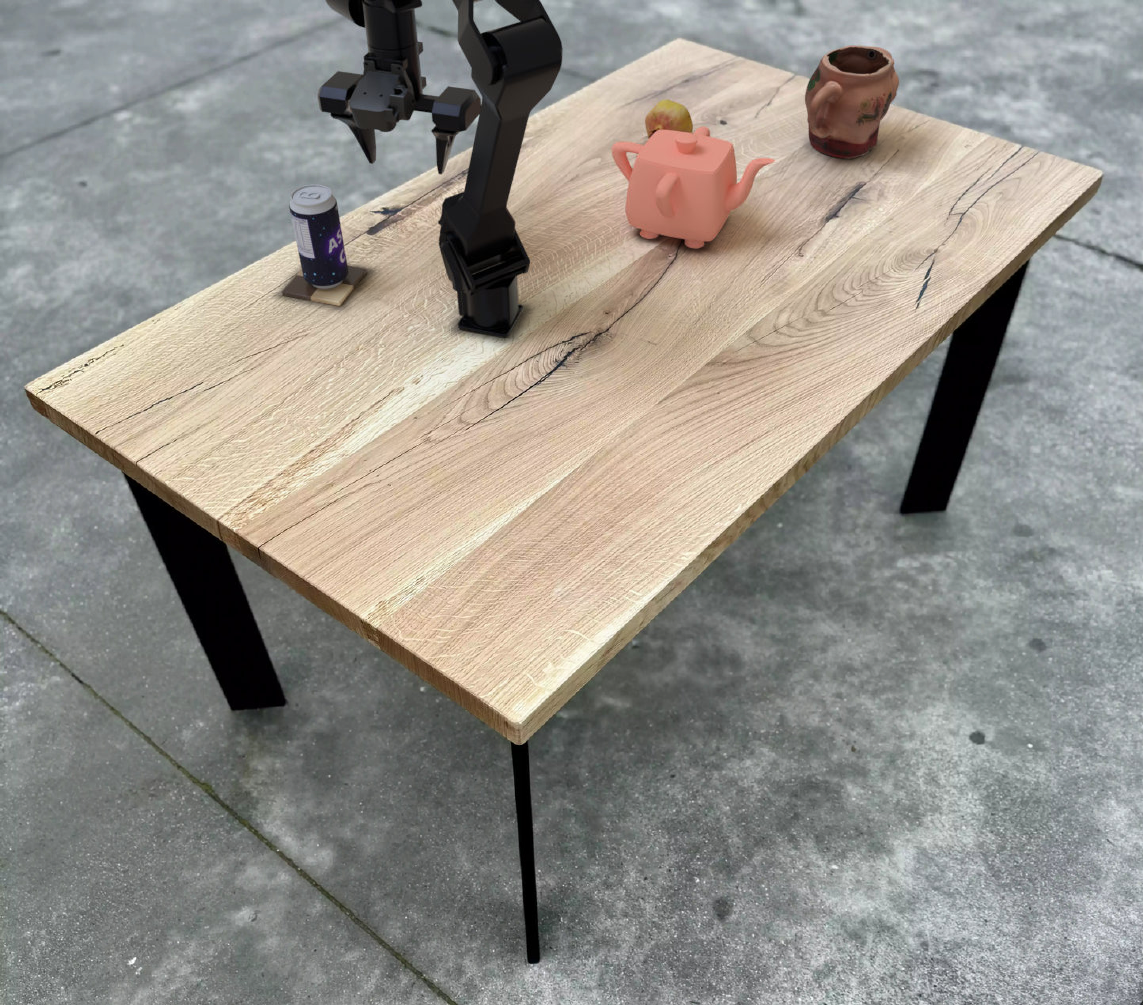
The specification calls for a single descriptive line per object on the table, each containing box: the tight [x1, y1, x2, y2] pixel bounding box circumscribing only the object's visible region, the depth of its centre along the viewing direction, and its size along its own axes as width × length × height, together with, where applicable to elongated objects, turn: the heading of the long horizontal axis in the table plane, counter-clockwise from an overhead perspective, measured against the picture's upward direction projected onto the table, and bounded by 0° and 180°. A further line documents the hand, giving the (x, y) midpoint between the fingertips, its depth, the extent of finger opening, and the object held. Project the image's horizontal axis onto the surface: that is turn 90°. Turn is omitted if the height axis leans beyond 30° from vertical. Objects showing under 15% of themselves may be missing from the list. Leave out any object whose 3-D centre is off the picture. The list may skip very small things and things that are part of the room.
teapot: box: [611, 126, 776, 249], centre depth 145 cm, size 17×16×13 cm
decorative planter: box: [804, 44, 900, 159], centre depth 161 cm, size 20×12×14 cm, turn 143°
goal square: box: [281, 264, 368, 307], centre depth 140 cm, size 8×8×1 cm
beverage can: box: [288, 183, 349, 289], centre depth 135 cm, size 6×6×12 cm
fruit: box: [644, 99, 694, 140], centre depth 164 cm, size 7×7×10 cm
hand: (406, 167), depth 135 cm, fingers open, 9 cm apart
